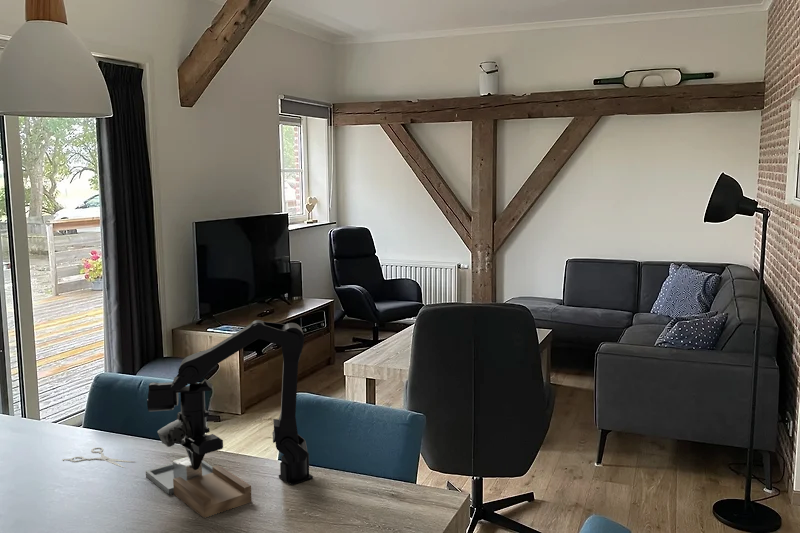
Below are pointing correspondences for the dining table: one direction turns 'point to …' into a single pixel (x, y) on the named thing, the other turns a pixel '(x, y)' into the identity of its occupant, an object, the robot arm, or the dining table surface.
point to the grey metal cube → (176, 466)
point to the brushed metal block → (189, 470)
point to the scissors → (99, 458)
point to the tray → (170, 476)
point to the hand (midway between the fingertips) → (195, 469)
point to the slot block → (213, 492)
